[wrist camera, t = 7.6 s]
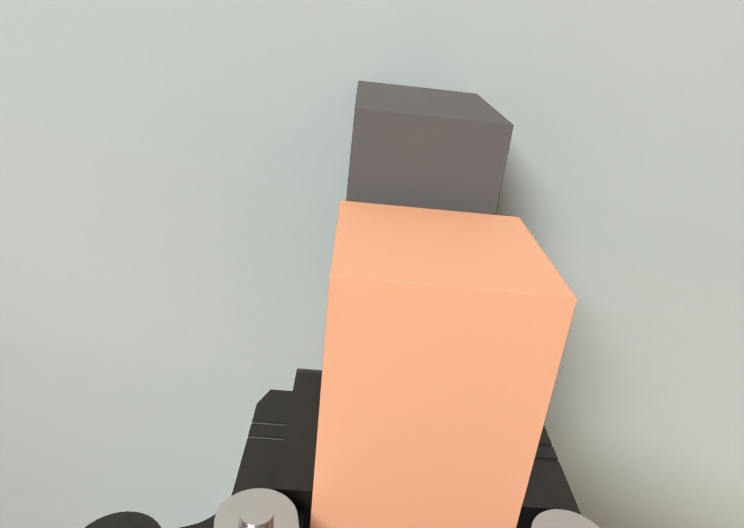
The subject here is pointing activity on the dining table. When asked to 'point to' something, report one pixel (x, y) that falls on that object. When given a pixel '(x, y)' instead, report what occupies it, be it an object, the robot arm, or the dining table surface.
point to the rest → (427, 149)
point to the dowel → (434, 368)
